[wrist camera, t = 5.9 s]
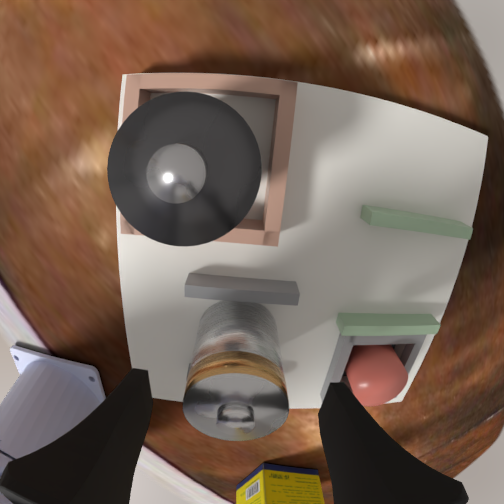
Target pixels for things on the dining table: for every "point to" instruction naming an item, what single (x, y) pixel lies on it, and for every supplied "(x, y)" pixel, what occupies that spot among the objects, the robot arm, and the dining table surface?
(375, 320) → the tester board
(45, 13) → the dining table surface
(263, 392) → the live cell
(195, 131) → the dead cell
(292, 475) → the supplement box
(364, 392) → the button
